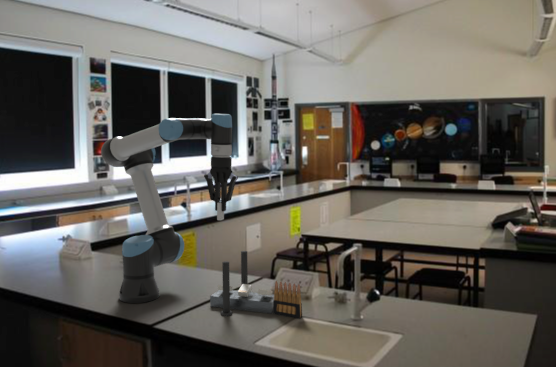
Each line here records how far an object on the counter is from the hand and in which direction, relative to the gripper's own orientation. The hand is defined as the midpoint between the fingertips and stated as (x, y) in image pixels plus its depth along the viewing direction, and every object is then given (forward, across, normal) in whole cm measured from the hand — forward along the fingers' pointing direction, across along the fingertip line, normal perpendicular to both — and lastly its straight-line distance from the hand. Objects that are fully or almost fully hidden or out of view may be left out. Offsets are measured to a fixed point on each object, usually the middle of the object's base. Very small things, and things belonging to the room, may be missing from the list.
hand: (220, 219), depth 200 cm
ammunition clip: (+31, +29, -6) cm, 43 cm away
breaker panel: (+31, +11, -1) cm, 33 cm away
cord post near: (+31, +8, -11) cm, 34 cm away
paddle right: (+25, +19, -1) cm, 31 cm away
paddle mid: (+25, +11, -1) cm, 28 cm away
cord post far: (+32, +8, +5) cm, 33 cm away
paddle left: (+26, +3, -1) cm, 26 cm away
